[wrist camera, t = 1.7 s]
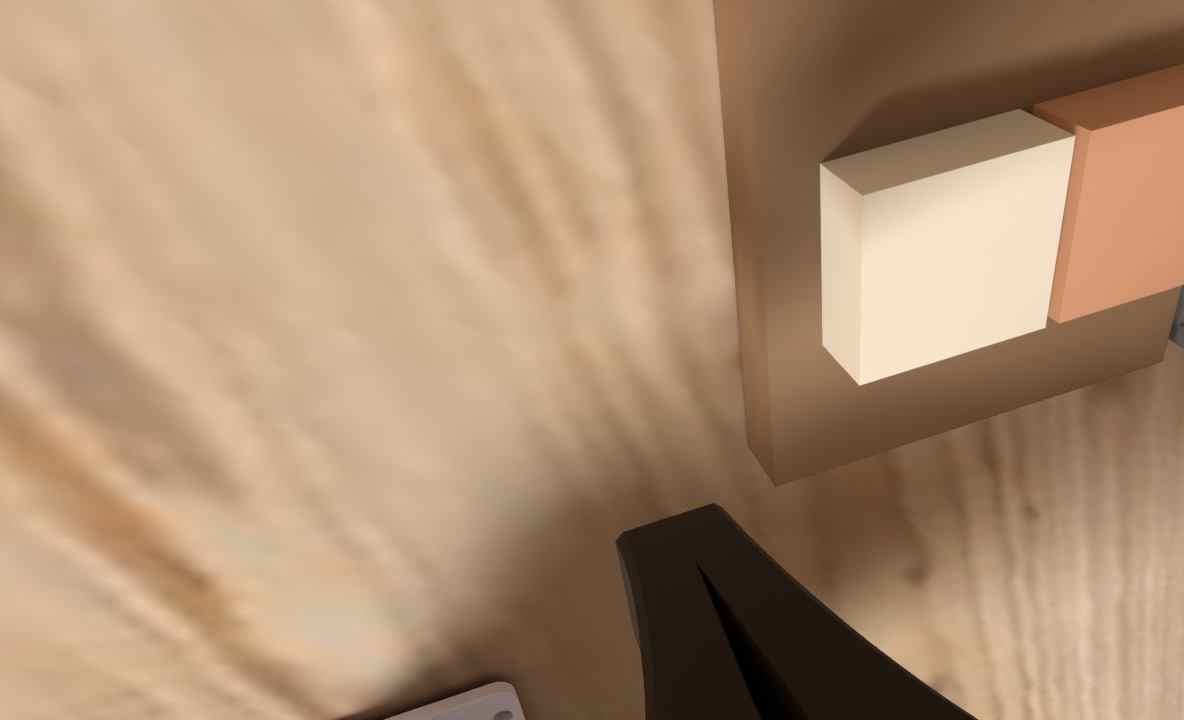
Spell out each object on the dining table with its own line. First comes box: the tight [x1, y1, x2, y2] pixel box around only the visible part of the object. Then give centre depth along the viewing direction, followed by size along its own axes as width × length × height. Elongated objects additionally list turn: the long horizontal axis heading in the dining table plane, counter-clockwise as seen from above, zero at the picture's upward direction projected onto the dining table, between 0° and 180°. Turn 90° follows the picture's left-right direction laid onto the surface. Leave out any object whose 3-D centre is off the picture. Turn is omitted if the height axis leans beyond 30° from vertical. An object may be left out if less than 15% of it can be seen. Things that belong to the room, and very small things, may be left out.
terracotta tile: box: [1032, 64, 1184, 323], centre depth 18 cm, size 4×4×2 cm
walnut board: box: [713, 0, 1184, 486], centre depth 19 cm, size 11×10×2 cm
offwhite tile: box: [820, 109, 1076, 386], centre depth 17 cm, size 4×4×2 cm
